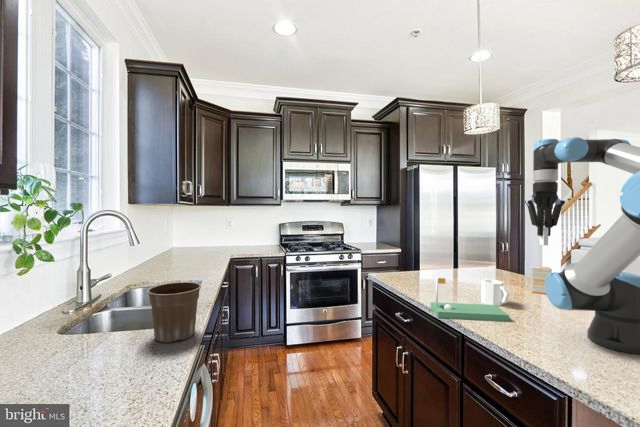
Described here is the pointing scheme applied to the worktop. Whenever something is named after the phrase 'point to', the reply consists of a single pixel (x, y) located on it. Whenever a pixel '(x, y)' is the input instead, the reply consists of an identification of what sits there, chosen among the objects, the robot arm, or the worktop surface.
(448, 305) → the ball
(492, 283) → the mug
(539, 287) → the supplement box
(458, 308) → the putting strip
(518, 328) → the worktop surface
